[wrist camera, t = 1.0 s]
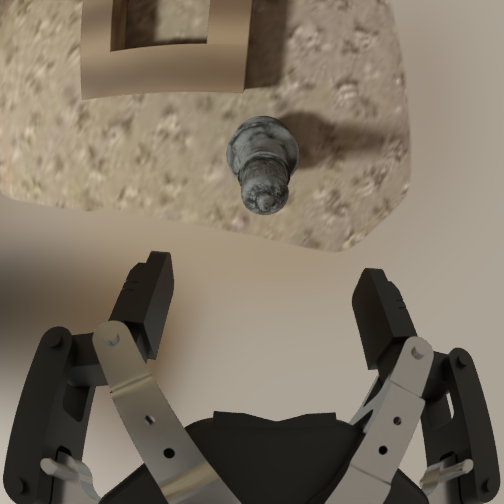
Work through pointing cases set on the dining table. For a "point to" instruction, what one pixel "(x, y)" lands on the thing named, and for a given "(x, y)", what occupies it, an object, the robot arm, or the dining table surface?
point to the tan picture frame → (163, 54)
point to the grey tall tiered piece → (263, 163)
